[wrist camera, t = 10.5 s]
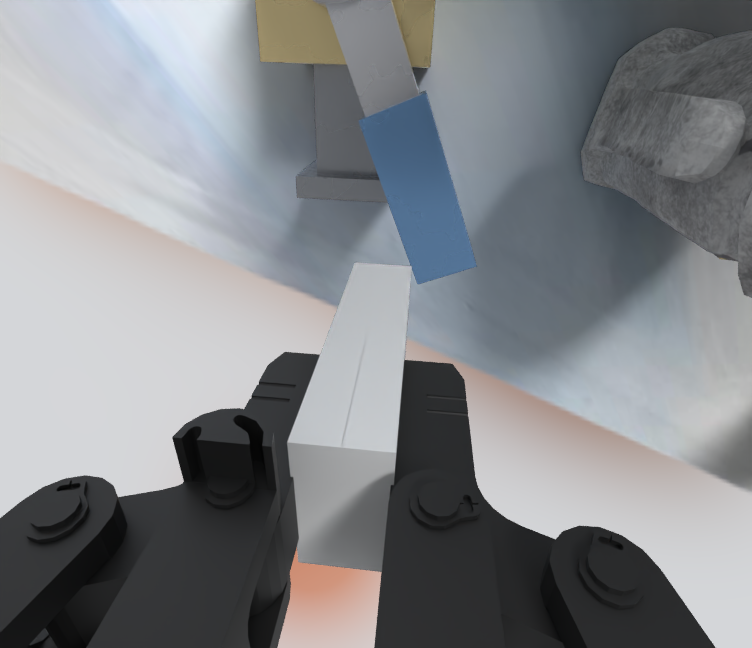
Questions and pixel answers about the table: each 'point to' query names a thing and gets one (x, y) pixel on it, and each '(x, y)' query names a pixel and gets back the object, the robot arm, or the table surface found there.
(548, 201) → the table surface
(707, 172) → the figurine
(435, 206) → the lever
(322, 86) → the valve
